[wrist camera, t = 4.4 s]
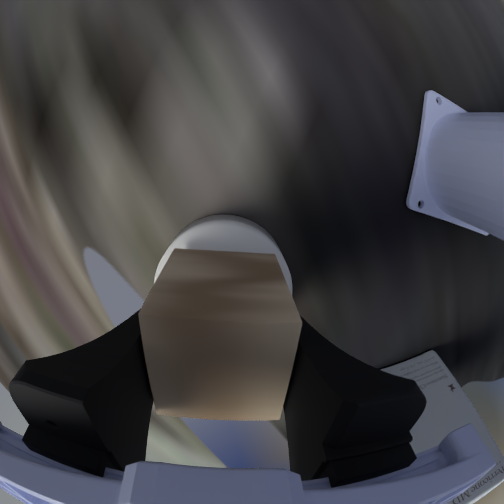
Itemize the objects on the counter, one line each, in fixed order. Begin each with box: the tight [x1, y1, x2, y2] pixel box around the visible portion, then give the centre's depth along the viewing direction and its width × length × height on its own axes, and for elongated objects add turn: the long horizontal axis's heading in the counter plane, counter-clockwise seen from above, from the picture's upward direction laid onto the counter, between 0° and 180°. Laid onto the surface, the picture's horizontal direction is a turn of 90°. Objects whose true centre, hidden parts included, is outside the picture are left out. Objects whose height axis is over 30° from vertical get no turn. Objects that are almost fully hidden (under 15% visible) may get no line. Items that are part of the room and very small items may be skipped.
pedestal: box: [154, 214, 292, 295], centre depth 15 cm, size 7×7×2 cm
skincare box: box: [381, 350, 504, 504], centre depth 14 cm, size 8×6×15 cm
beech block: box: [138, 248, 302, 420], centre depth 11 cm, size 4×4×6 cm
